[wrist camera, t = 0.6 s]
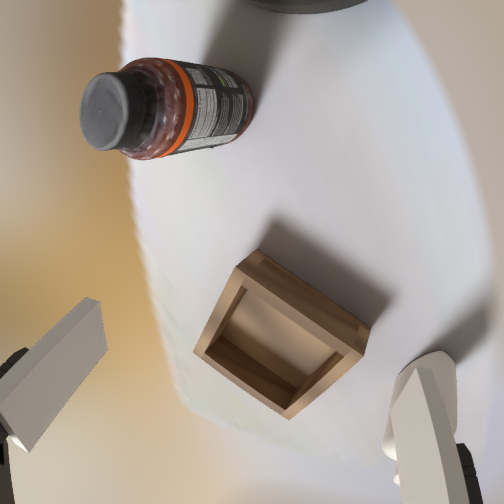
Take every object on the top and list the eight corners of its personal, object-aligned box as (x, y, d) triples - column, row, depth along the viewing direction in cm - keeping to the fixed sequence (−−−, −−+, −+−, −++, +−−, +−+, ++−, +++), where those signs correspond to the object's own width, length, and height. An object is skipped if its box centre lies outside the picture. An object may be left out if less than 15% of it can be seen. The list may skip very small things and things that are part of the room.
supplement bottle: (179, 126, 24) (60, 143, 15) (205, 60, 21) (83, 43, 12) (237, 159, 23) (121, 191, 14) (270, 87, 20) (157, 67, 11)
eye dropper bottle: (457, 383, 21) (451, 506, 11) (397, 393, 24) (369, 511, 14) (453, 345, 20) (453, 477, 10) (388, 358, 23) (356, 483, 13)
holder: (256, 248, 25) (235, 266, 22) (371, 328, 23) (363, 356, 20) (212, 331, 31) (192, 351, 28) (301, 395, 29) (288, 420, 26)
